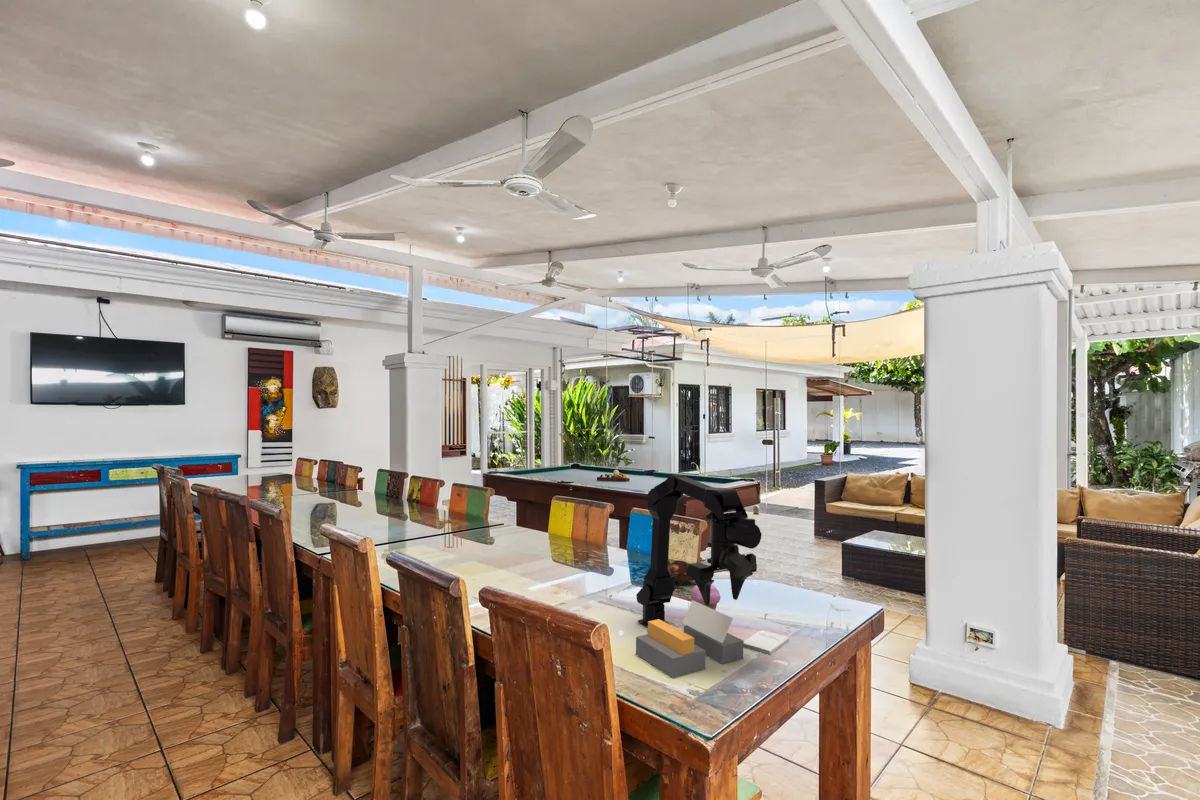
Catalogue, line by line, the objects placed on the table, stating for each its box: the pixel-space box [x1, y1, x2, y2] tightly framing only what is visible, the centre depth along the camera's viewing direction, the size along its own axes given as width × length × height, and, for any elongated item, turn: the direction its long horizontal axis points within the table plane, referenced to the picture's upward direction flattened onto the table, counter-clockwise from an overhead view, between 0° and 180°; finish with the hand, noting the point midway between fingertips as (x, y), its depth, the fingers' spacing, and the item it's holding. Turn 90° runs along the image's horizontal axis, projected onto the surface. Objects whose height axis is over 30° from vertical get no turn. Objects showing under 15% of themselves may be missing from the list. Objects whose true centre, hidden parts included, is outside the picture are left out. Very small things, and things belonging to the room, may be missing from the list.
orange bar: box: [647, 619, 694, 655], centre depth 152 cm, size 14×4×4 cm, turn 31°
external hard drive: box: [743, 629, 790, 656], centre depth 164 cm, size 2×8×12 cm
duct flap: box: [682, 599, 733, 643], centre depth 158 cm, size 15×6×1 cm
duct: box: [635, 625, 745, 679], centre depth 155 cm, size 15×22×4 cm, turn 121°
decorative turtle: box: [668, 559, 695, 586], centre depth 218 cm, size 10×15×8 cm, turn 72°
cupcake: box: [690, 584, 721, 611], centre depth 183 cm, size 9×9×10 cm
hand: (721, 602), depth 153 cm, fingers open, 9 cm apart
